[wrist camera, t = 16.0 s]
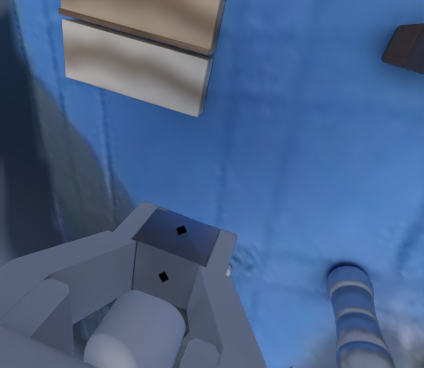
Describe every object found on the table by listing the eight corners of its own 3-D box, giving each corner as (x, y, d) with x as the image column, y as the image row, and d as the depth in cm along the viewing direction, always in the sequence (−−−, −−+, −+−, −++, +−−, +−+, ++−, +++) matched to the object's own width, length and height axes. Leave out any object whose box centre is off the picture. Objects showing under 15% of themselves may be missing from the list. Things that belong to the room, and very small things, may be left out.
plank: (202, 112, 39) (197, 117, 37) (76, 74, 42) (65, 76, 40) (213, 58, 35) (208, 60, 33) (74, 19, 38) (62, 19, 36)
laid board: (214, 53, 35) (207, 55, 33) (75, 15, 38) (58, 13, 35) (228, -13, 32) (221, -17, 29) (73, -51, 34) (54, -58, 31)
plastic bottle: (324, 288, 48) (338, 428, 31) (326, 257, 45) (343, 394, 28) (366, 293, 46) (406, 445, 29) (372, 261, 43) (420, 411, 26)
